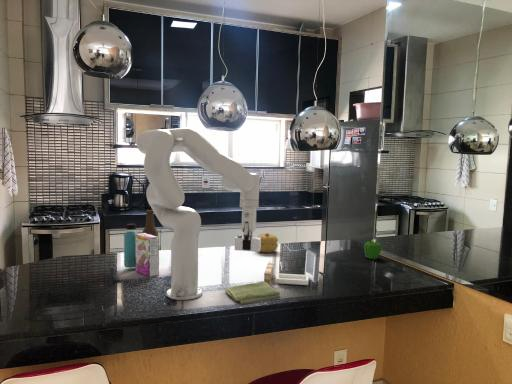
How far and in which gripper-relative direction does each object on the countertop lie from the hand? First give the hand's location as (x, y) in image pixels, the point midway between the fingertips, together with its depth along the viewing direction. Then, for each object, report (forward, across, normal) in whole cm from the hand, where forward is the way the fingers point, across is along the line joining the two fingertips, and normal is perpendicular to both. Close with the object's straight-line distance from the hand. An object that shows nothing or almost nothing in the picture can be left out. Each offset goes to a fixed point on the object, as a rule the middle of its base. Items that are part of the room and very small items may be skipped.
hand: (247, 248), depth 162 cm
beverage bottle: (+14, +6, +51) cm, 54 cm away
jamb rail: (+13, +2, -9) cm, 16 cm away
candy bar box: (+14, +1, +42) cm, 45 cm away
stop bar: (+1, 0, 0) cm, 1 cm away
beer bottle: (+14, +22, +49) cm, 56 cm away
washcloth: (+14, -17, -5) cm, 23 cm away
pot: (+12, +51, -4) cm, 52 cm away
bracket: (+13, +2, -19) cm, 23 cm away
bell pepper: (+11, +48, -58) cm, 76 cm away
